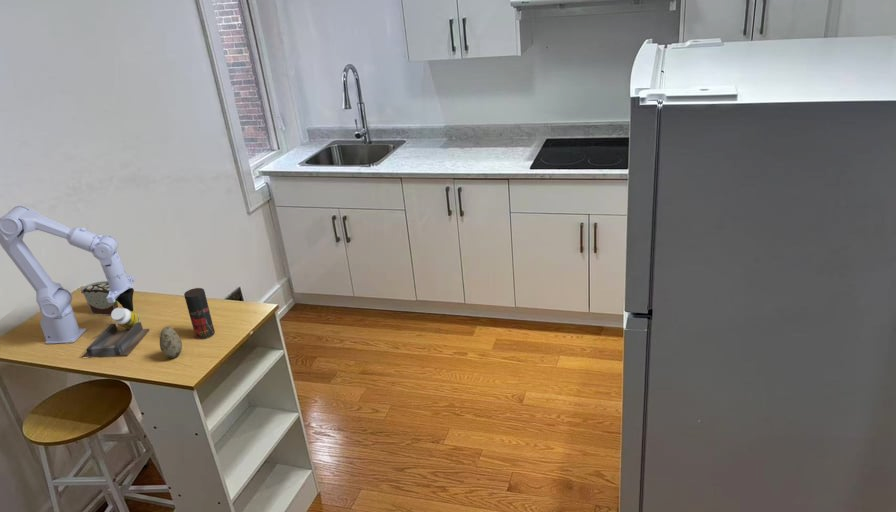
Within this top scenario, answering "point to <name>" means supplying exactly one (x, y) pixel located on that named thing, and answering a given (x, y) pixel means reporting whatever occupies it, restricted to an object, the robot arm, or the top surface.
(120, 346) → the bottle rest
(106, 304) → the food container
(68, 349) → the top surface
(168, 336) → the decorative egg
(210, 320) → the deodorant
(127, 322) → the supplement bottle
